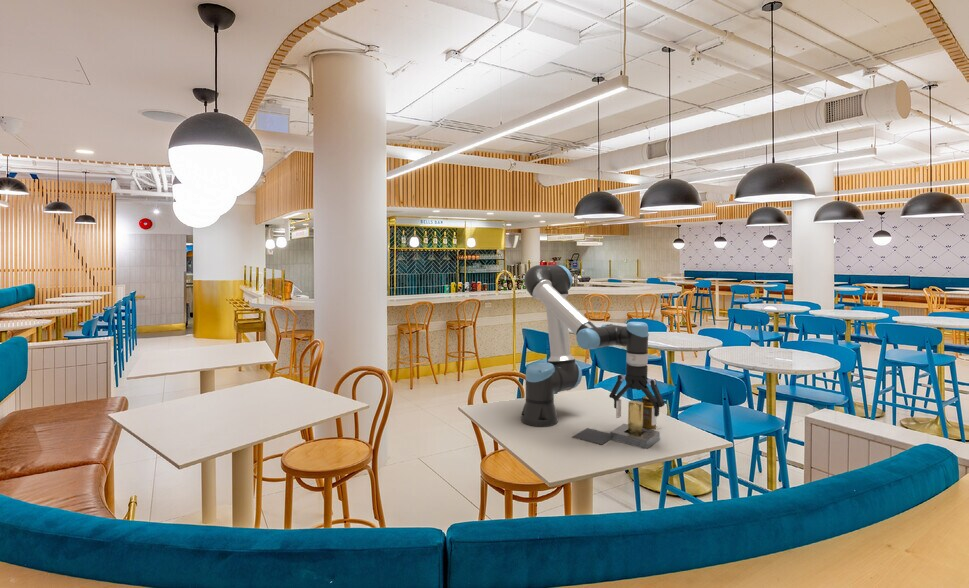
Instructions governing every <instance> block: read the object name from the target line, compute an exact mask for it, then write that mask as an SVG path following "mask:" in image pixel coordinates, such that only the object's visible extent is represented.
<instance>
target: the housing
mask: <svg viewBox="0 0 969 588" xmlns="http://www.w3.org/2000/svg"><path fill="white" fill-rule="evenodd" d="M660 434H661V432H660V431H658V430H650V429H646V428H643V429H642V435H641V436H637V435H633V434H629V433H628V423H622V424H621V425H619V426H618V427H616V428H614V429H613V430H611V431H610V440H609V441H615V442H618V443H622V444H625V445H630V446H633V447H638V448H640V449H645V450H649V448H650V447H652V446H653V445H654V444H655V443H657V442H658V441H659V440H660Z"/></svg>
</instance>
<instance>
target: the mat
mask: <svg viewBox="0 0 969 588" xmlns="http://www.w3.org/2000/svg"><path fill="white" fill-rule="evenodd" d="M571 438H573V439H577V440H581V441H584V442H589V443H593V444H596V445H600V446H602V445H604V444H606V443H608V442H610V441H611V440H610V433H609V432H606V431H601V430H597V429H593V428H589V427H587V428H585V429H583V430H581V431H580V432H578V433H576V434H574V435H572V436H571Z"/></svg>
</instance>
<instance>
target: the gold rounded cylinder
mask: <svg viewBox="0 0 969 588" xmlns="http://www.w3.org/2000/svg"><path fill="white" fill-rule="evenodd" d="M627 407H628V410H627V413H628V414H627V424H628V433H629V434H633V435H637V436H641V435H642V429H643V403H642V401H639V400H630V401H628V406H627Z"/></svg>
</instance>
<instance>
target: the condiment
mask: <svg viewBox="0 0 969 588" xmlns="http://www.w3.org/2000/svg"><path fill="white" fill-rule="evenodd" d="M641 402H642V403H643V428H646V429H650V430H654V431H656V430H657V429H658V430H659V429H660V428H661V427H660V426H657V423H656V424H655V425H654V426H653V425H652V407H654V406H653V404H652V403H651V402H650V400H649V399H648V397H647V396H646V395H644V396H642V397H641ZM655 428H656V429H655Z"/></svg>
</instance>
